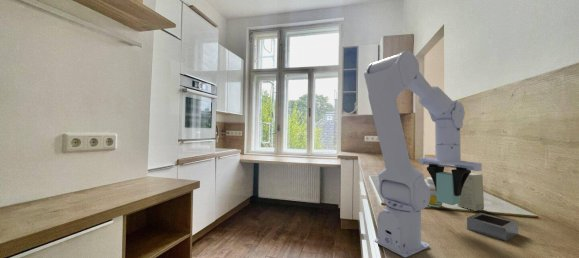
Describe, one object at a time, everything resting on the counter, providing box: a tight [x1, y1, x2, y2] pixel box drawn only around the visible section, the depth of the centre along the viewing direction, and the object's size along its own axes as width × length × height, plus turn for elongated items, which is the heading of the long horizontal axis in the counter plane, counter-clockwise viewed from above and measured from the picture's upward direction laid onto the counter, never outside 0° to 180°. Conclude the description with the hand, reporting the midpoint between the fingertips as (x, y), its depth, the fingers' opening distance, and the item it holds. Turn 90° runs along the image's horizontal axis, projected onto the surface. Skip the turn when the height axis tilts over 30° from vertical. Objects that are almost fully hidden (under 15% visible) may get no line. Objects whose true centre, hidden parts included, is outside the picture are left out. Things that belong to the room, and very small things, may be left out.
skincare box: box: [457, 172, 485, 212], centre depth 78 cm, size 6×4×12 cm
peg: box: [436, 171, 460, 206], centre depth 62 cm, size 4×4×8 cm
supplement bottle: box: [426, 176, 443, 208], centre depth 81 cm, size 5×5×10 cm
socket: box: [466, 212, 519, 242], centre depth 59 cm, size 8×8×3 cm
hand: (448, 193), depth 62 cm, fingers closed on peg, 4 cm apart
